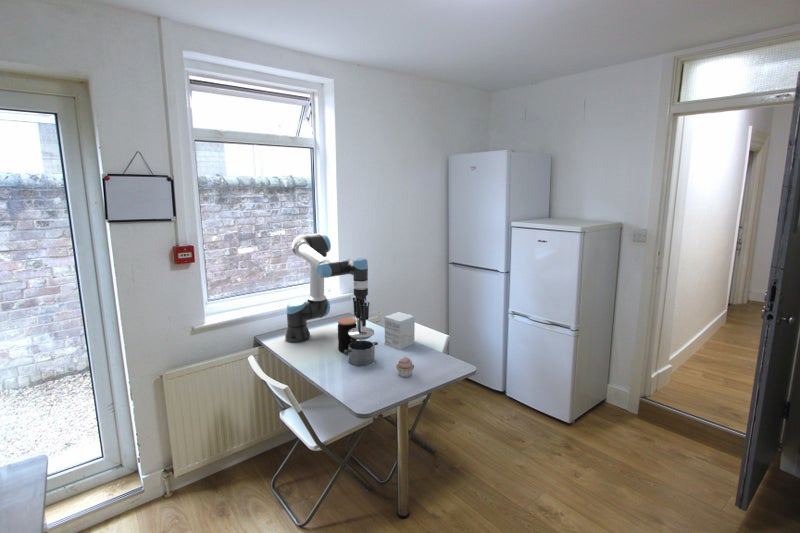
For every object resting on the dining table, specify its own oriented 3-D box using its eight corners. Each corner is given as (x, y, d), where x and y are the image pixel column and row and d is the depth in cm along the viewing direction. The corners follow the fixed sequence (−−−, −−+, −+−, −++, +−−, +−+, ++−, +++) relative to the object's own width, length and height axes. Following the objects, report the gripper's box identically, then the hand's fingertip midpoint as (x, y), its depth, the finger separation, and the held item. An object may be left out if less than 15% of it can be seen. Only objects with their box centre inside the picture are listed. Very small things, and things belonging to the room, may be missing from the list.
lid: (343, 334, 216) (343, 317, 214) (365, 329, 224) (365, 312, 222) (356, 343, 205) (356, 324, 203) (379, 337, 213) (379, 319, 211)
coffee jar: (353, 354, 225) (353, 324, 222) (335, 353, 228) (334, 322, 224) (359, 347, 236) (358, 318, 232) (342, 345, 238) (341, 316, 234)
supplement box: (398, 338, 251) (398, 311, 247) (414, 343, 242) (415, 316, 239) (383, 344, 241) (383, 316, 237) (400, 350, 232) (400, 321, 229)
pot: (351, 370, 206) (351, 354, 204) (338, 361, 217) (338, 345, 215) (384, 360, 218) (384, 345, 216) (370, 352, 229) (370, 337, 227)
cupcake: (405, 369, 208) (405, 351, 206) (418, 375, 202) (418, 356, 200) (391, 374, 202) (392, 356, 200) (404, 381, 195) (404, 362, 193)
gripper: (346, 285, 214) (347, 327, 218) (362, 292, 201) (363, 336, 206) (358, 283, 218) (359, 324, 223) (375, 290, 205) (375, 333, 210)
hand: (361, 330), depth 214 cm, fingers closed on lid, 3 cm apart
